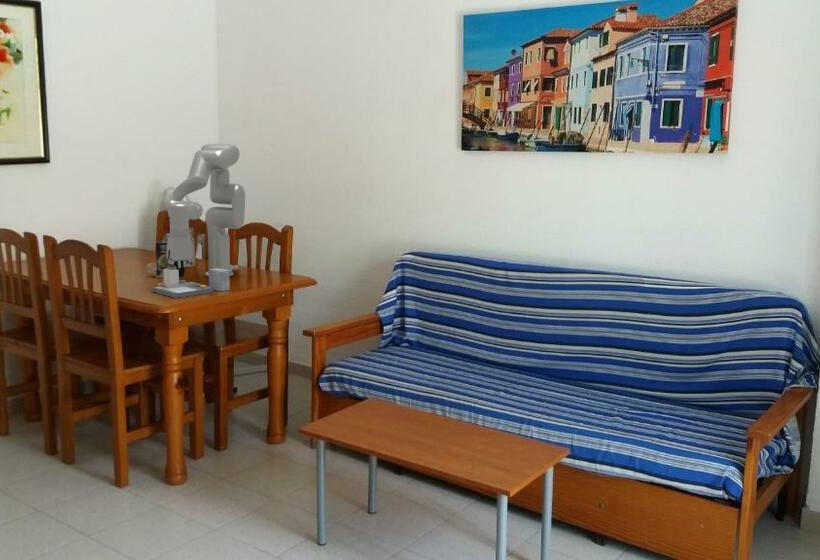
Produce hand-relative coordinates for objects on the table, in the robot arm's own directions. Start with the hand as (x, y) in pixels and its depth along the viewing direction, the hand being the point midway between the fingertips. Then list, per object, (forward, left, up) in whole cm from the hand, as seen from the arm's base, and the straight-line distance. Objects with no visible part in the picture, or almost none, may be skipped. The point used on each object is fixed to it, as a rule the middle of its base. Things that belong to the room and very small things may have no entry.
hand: (180, 276), depth 338 cm
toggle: (+4, 0, -3) cm, 6 cm away
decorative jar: (-31, -50, -6) cm, 58 cm away
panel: (+2, +4, -6) cm, 7 cm away
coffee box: (-12, -30, -6) cm, 32 cm away
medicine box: (-13, +9, -6) cm, 17 cm away
